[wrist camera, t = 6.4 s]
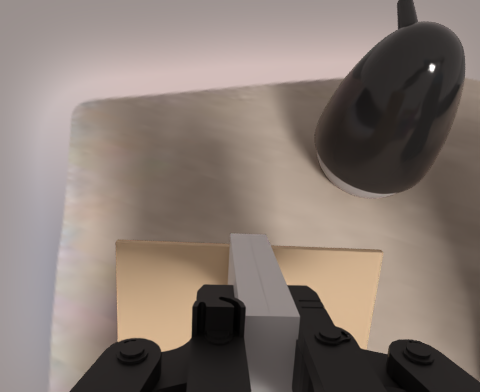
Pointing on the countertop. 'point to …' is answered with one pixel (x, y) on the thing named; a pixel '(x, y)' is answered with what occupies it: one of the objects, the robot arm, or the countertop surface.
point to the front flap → (216, 272)
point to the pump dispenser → (393, 109)
